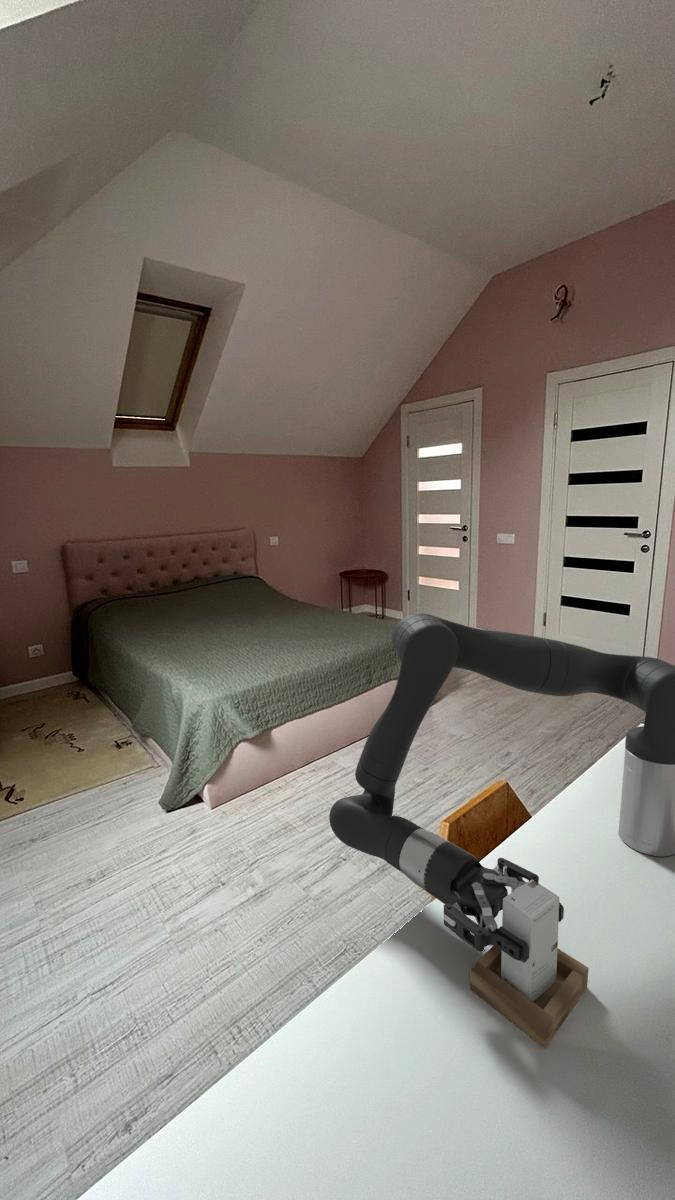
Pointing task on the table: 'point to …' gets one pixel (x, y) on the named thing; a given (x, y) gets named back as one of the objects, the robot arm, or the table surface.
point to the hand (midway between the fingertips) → (545, 933)
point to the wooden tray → (527, 1015)
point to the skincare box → (532, 938)
